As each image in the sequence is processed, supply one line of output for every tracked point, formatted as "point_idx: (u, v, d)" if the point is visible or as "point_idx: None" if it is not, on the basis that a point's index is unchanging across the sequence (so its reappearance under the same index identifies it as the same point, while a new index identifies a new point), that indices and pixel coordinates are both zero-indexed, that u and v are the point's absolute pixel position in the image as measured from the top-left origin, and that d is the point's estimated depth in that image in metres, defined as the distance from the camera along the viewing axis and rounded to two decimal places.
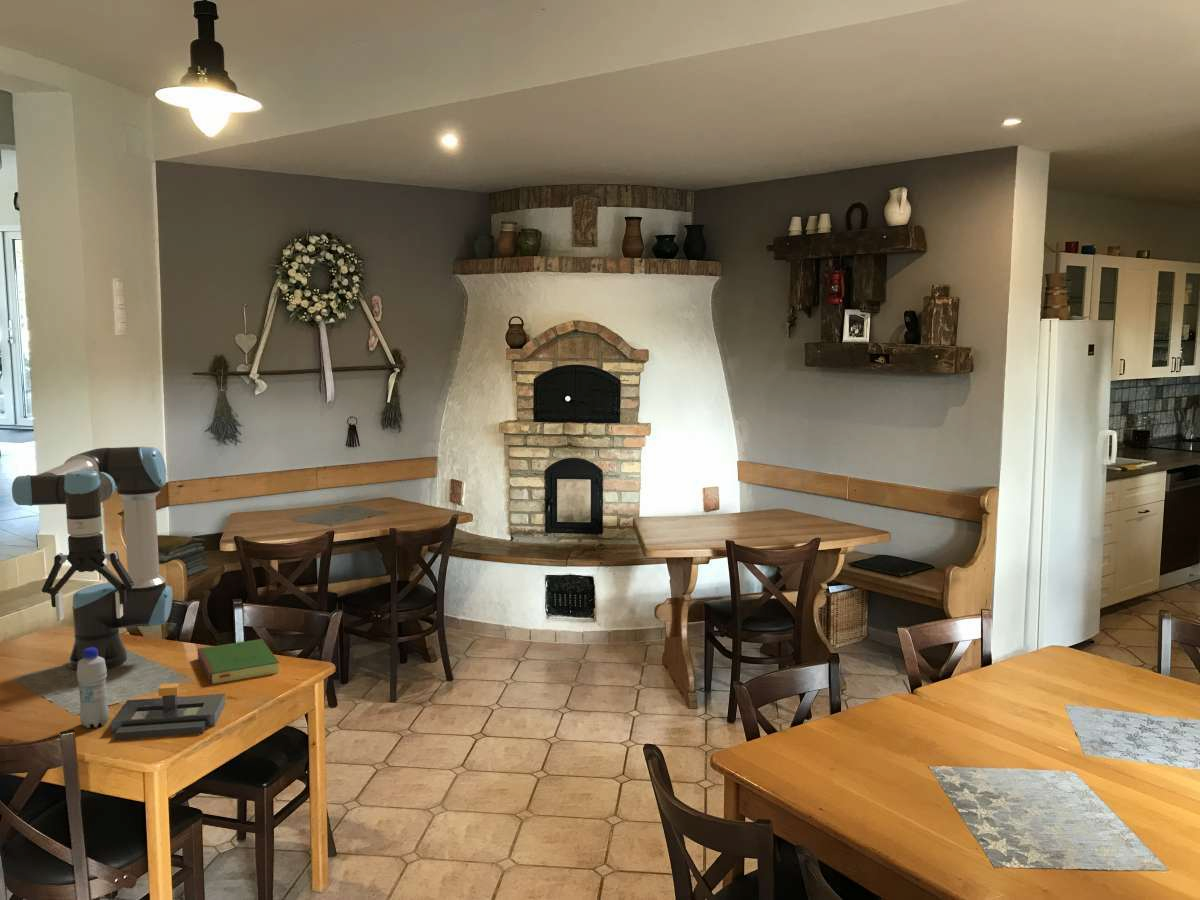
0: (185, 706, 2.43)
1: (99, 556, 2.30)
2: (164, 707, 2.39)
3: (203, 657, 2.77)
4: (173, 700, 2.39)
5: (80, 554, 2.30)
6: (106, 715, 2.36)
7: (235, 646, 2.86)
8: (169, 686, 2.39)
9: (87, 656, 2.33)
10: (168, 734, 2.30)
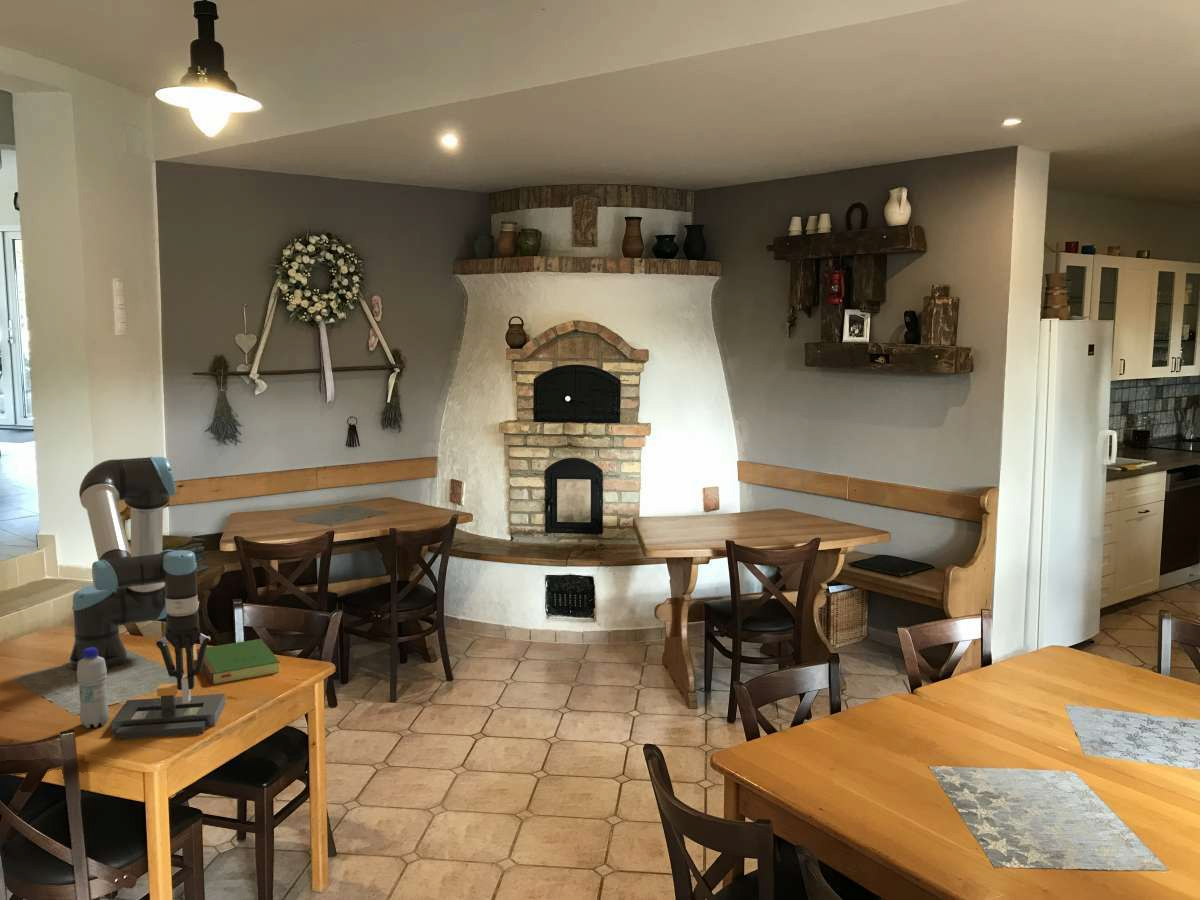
0: (185, 706, 2.43)
1: (196, 634, 2.39)
2: (163, 707, 2.39)
3: None
4: (172, 700, 2.39)
5: None
6: (106, 715, 2.36)
7: (234, 646, 2.86)
8: (168, 686, 2.39)
9: (87, 656, 2.33)
10: (168, 734, 2.30)
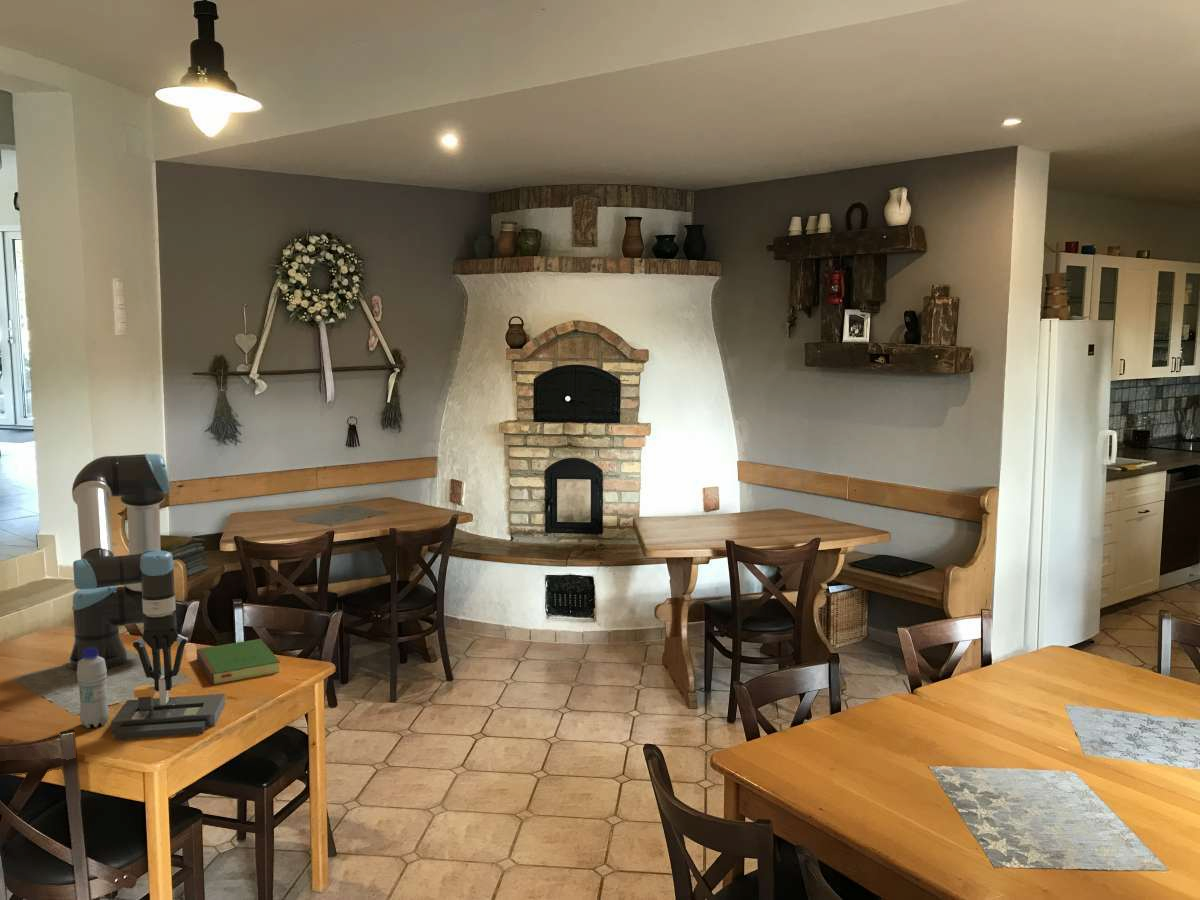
0: (185, 706, 2.43)
1: (173, 635, 2.37)
2: (140, 709, 2.38)
3: (203, 657, 2.77)
4: (149, 702, 2.38)
5: None
6: (106, 715, 2.36)
7: (234, 646, 2.86)
8: (145, 688, 2.38)
9: (87, 656, 2.33)
10: (168, 734, 2.30)
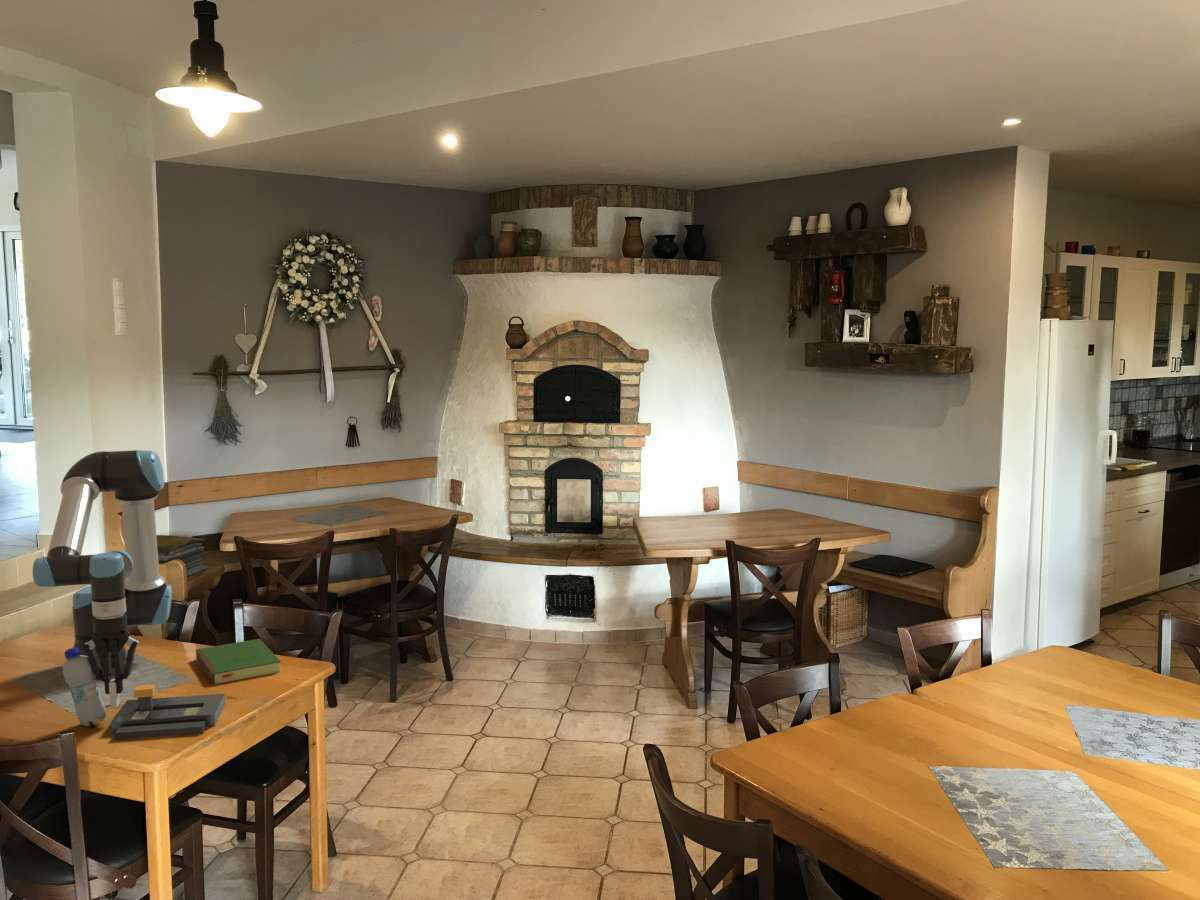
0: (185, 706, 2.43)
1: (124, 637, 2.35)
2: (140, 709, 2.38)
3: (203, 658, 2.76)
4: (149, 702, 2.38)
5: None
6: (103, 711, 2.36)
7: (233, 646, 2.86)
8: (145, 688, 2.38)
9: (69, 656, 2.32)
10: (168, 734, 2.30)
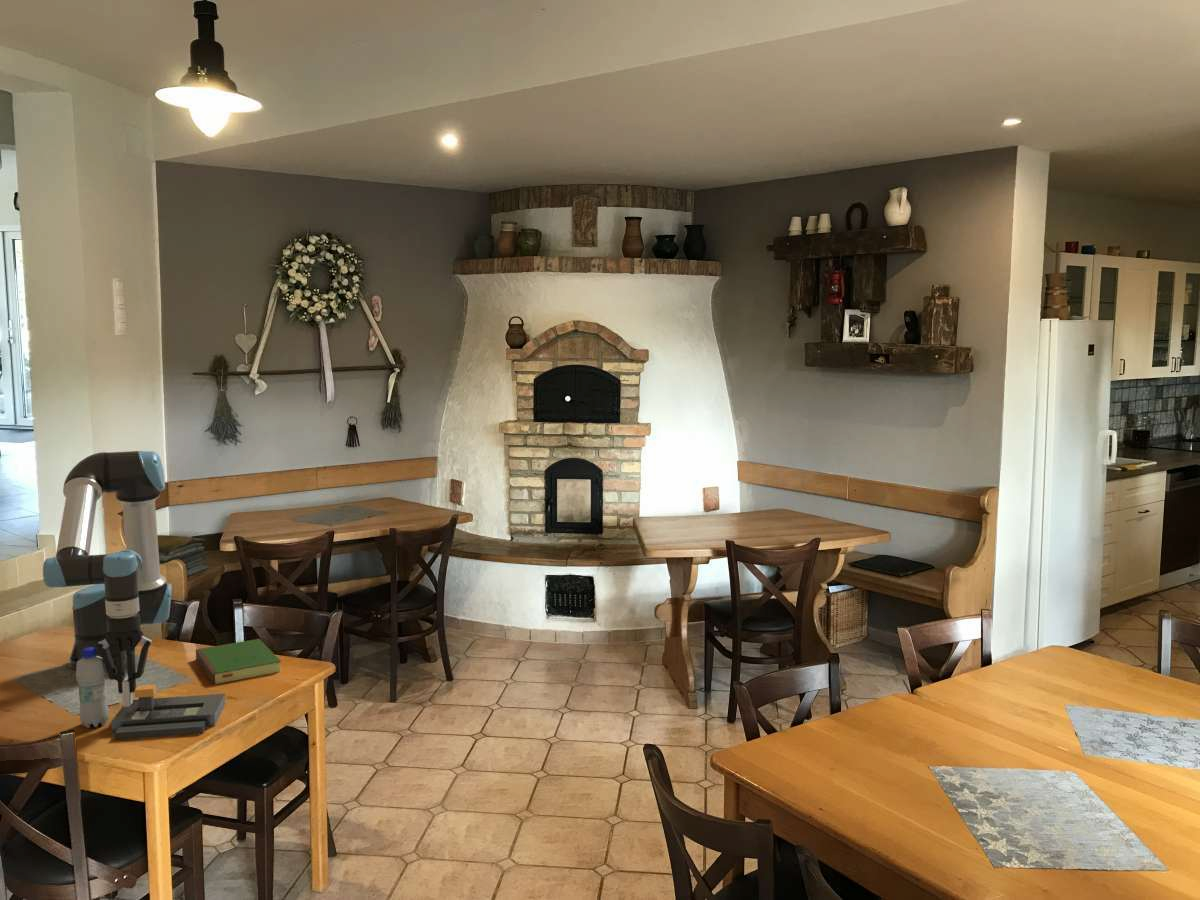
0: (185, 706, 2.43)
1: (137, 636, 2.36)
2: (140, 709, 2.38)
3: (203, 658, 2.76)
4: (149, 702, 2.38)
5: None
6: (106, 715, 2.36)
7: (233, 646, 2.86)
8: (145, 688, 2.38)
9: (86, 656, 2.33)
10: (168, 734, 2.30)
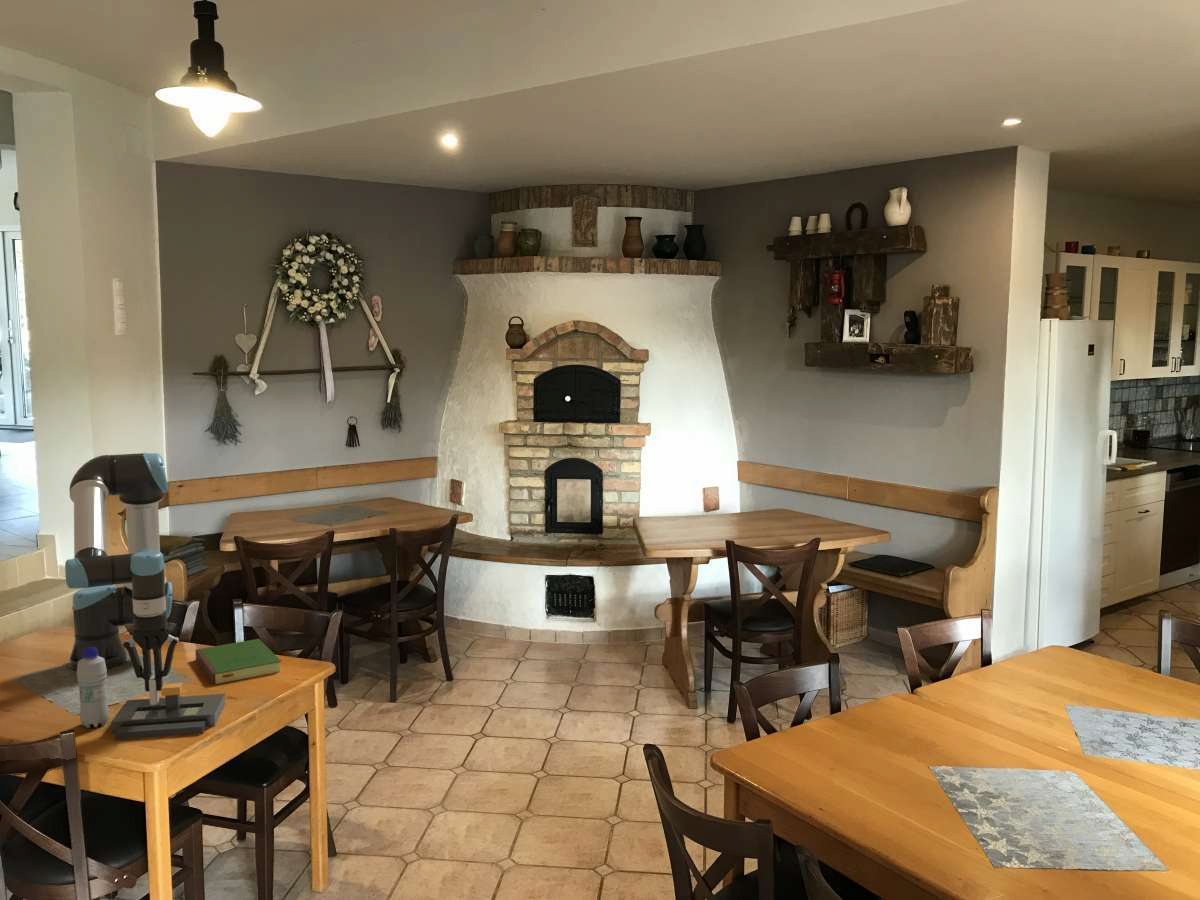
0: (185, 706, 2.43)
1: (164, 635, 2.37)
2: (167, 707, 2.39)
3: (203, 658, 2.76)
4: (176, 700, 2.40)
5: None
6: (106, 715, 2.36)
7: (233, 646, 2.86)
8: (172, 686, 2.39)
9: (87, 656, 2.33)
10: (168, 734, 2.30)
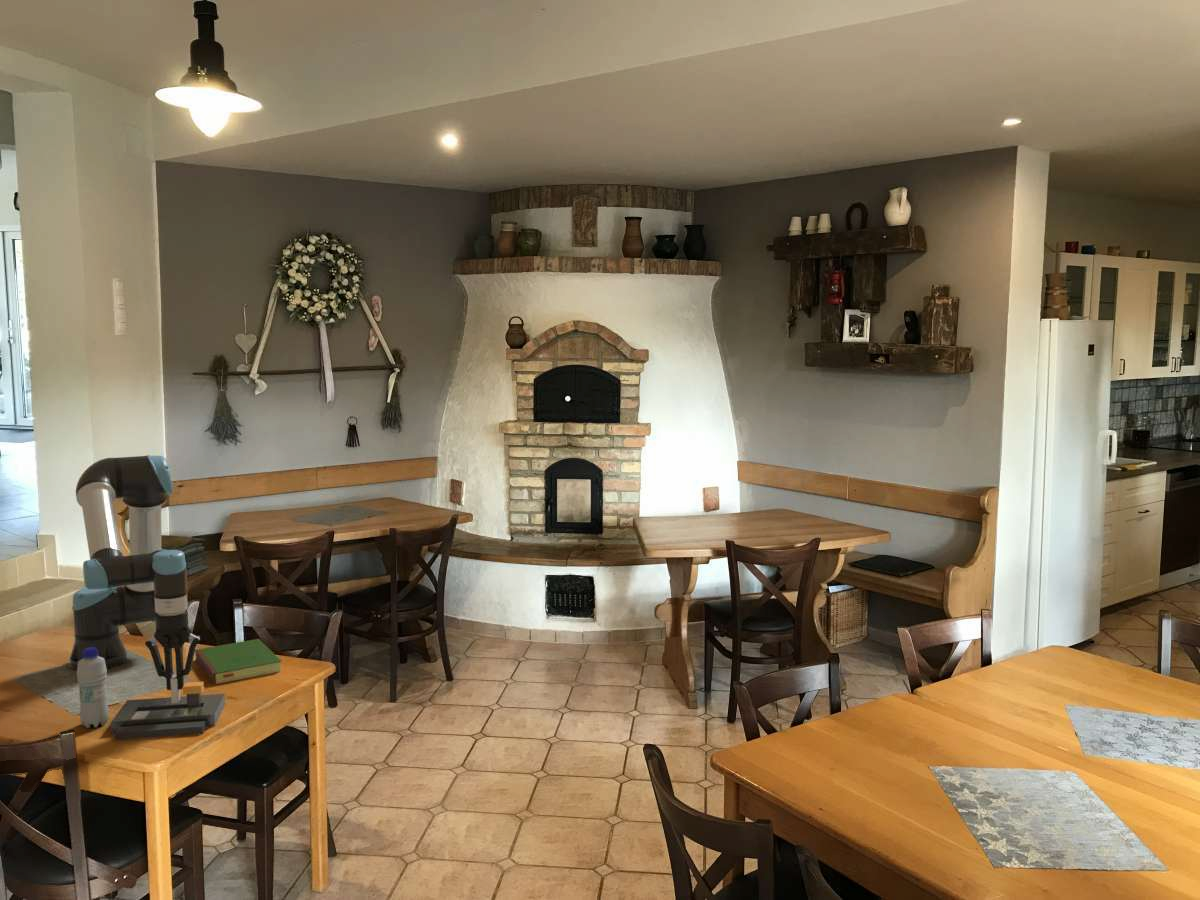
0: (185, 706, 2.43)
1: (185, 634, 2.38)
2: (188, 705, 2.40)
3: (203, 658, 2.76)
4: (197, 698, 2.41)
5: None
6: (106, 715, 2.36)
7: (233, 647, 2.86)
8: (193, 684, 2.40)
9: (87, 656, 2.33)
10: (168, 734, 2.30)
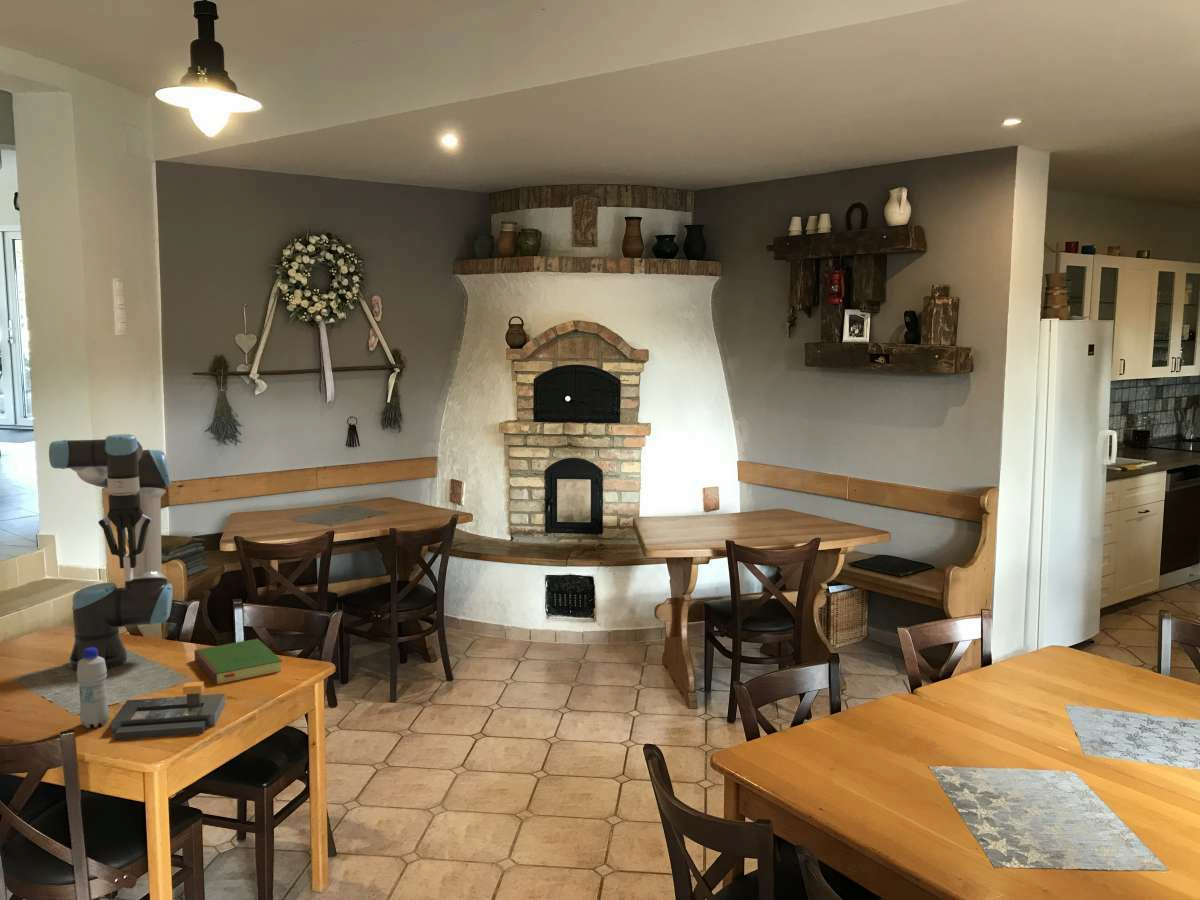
0: (185, 706, 2.43)
1: (137, 514, 2.49)
2: (188, 705, 2.40)
3: (203, 658, 2.76)
4: (197, 698, 2.41)
5: None
6: (106, 715, 2.36)
7: (232, 647, 2.86)
8: (193, 684, 2.40)
9: (87, 656, 2.33)
10: (168, 734, 2.30)
